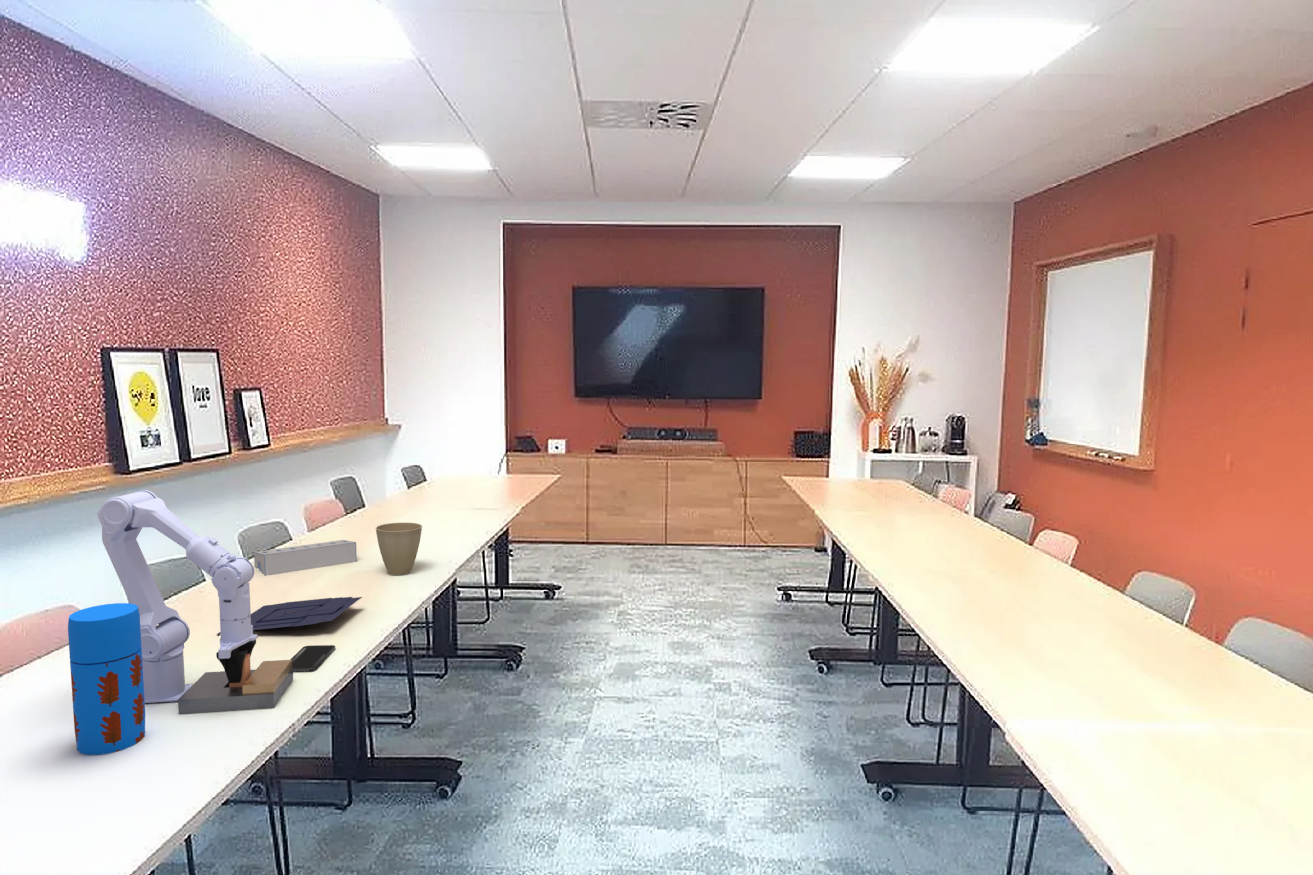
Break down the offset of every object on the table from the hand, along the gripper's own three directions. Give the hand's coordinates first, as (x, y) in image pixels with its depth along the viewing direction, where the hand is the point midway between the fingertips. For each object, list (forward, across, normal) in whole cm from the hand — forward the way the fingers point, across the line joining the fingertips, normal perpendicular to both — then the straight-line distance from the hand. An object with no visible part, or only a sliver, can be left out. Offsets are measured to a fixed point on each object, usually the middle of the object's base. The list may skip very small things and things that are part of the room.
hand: (238, 678), depth 163 cm
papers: (+4, +49, +2) cm, 49 cm away
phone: (+4, +19, -10) cm, 22 cm away
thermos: (+4, -17, +16) cm, 24 cm away
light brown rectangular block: (+2, 0, 0) cm, 2 cm away
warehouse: (+5, +111, +14) cm, 112 cm away
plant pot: (+4, +95, -20) cm, 97 cm away
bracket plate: (+4, 0, 0) cm, 4 cm away
